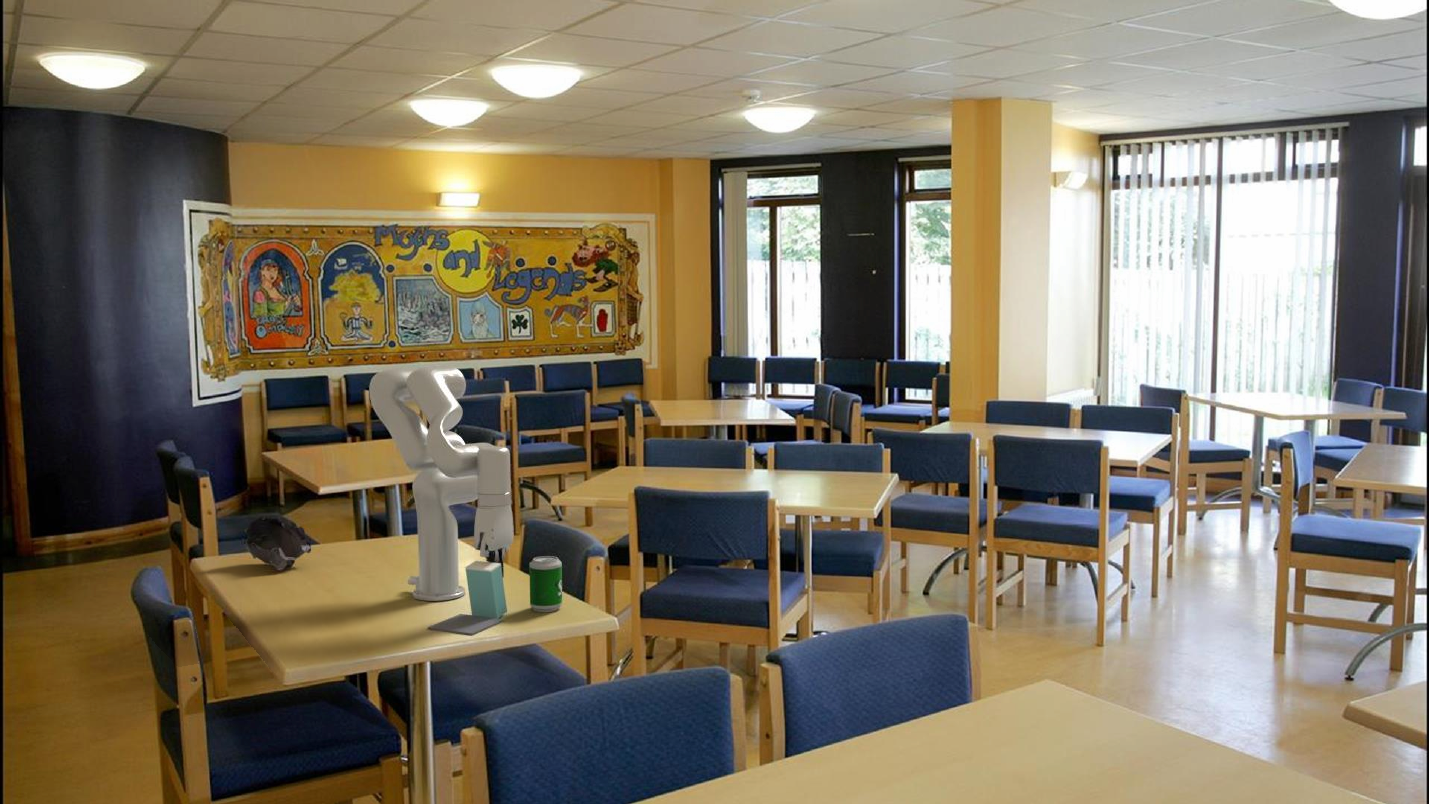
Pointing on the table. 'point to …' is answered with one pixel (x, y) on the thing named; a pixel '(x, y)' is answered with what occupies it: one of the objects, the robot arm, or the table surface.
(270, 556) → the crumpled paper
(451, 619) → the rubber mat
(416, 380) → the robot arm
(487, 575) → the teal block
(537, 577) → the soda can
